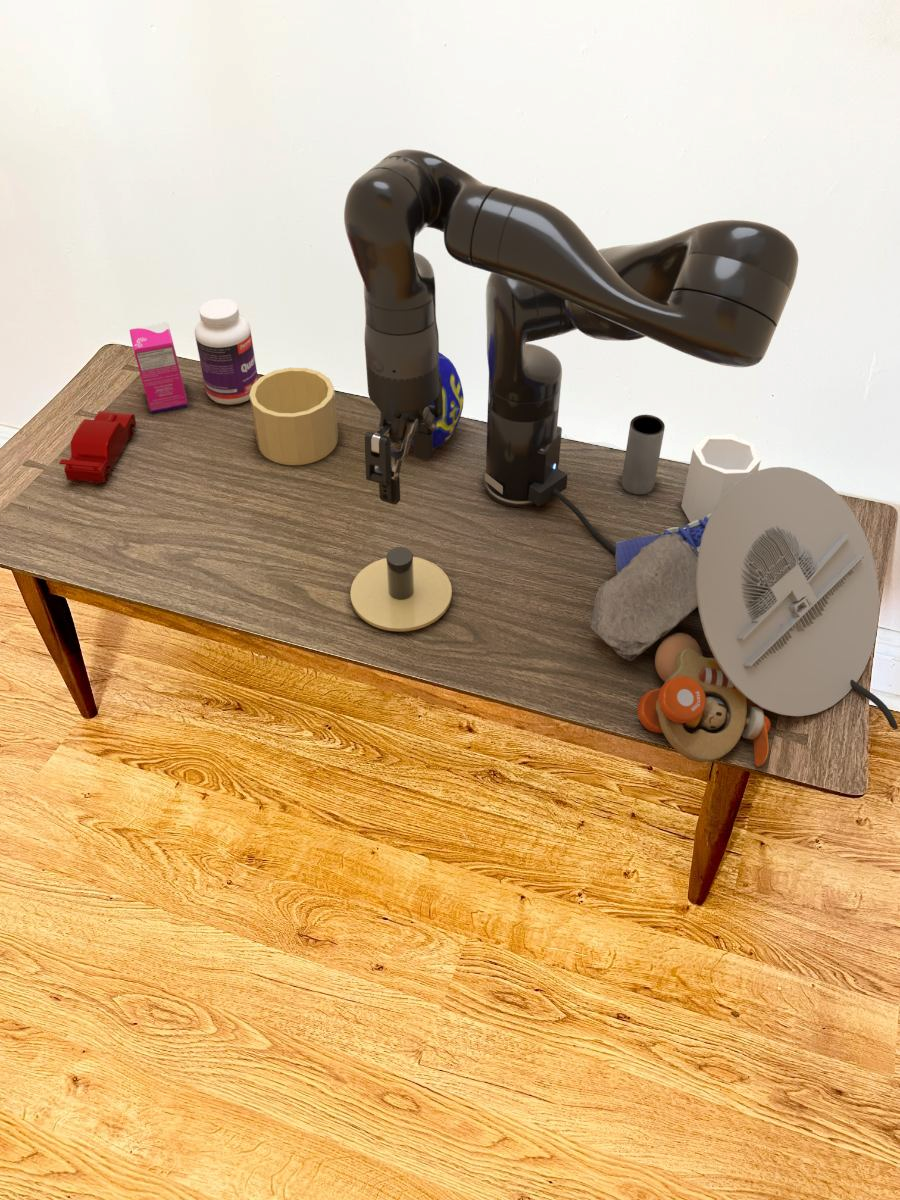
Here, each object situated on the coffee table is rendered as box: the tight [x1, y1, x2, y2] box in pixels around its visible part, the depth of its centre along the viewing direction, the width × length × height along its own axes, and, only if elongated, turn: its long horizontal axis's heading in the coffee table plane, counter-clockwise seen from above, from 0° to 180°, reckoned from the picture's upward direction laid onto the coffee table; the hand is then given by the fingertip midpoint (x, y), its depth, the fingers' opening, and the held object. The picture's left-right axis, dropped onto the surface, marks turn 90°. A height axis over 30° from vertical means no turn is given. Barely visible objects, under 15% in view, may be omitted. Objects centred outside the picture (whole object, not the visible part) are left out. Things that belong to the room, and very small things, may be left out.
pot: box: [249, 367, 339, 466], centre depth 153 cm, size 12×12×8 cm
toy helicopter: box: [636, 648, 771, 767], centre depth 118 cm, size 8×21×14 cm
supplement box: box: [129, 321, 189, 414], centre depth 158 cm, size 6×6×12 cm
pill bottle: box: [194, 298, 259, 406], centre depth 159 cm, size 8×8×14 cm
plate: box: [696, 466, 880, 717], centre depth 120 cm, size 28×28×1 cm
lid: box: [349, 546, 453, 632], centre depth 131 cm, size 13×13×7 cm
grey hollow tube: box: [621, 414, 666, 496], centre depth 145 cm, size 4×4×10 cm
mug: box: [680, 433, 762, 523], centre depth 142 cm, size 12×9×10 cm
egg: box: [654, 632, 704, 683], centre depth 123 cm, size 5×5×7 cm
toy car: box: [58, 410, 137, 485], centre depth 151 cm, size 14×6×5 cm, turn 172°
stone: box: [588, 533, 699, 662], centre depth 126 cm, size 15×5×10 cm
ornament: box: [411, 352, 465, 450], centre depth 150 cm, size 11×9×15 cm
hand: (407, 478), depth 121 cm, fingers open, 8 cm apart
